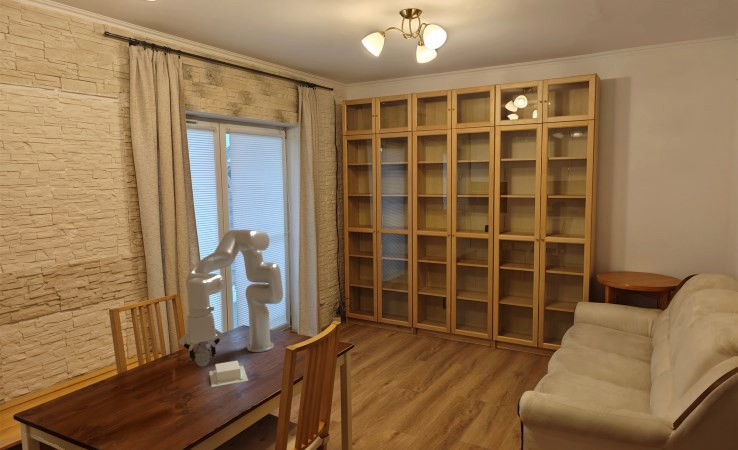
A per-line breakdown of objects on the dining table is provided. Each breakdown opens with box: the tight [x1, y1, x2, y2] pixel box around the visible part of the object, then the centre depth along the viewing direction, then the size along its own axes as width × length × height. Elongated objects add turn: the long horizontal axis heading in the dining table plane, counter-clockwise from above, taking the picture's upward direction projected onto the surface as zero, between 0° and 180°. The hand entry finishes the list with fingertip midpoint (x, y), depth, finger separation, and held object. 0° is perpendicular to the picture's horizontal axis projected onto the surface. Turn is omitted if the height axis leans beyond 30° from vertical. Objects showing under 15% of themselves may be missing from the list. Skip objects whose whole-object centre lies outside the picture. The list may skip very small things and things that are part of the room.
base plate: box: [208, 365, 249, 388], centre depth 195 cm, size 16×14×2 cm
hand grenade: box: [194, 341, 213, 367], centre depth 178 cm, size 6×6×11 cm
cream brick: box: [214, 360, 241, 382], centre depth 195 cm, size 9×9×4 cm
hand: (203, 357), depth 179 cm, fingers closed on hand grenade, 6 cm apart
